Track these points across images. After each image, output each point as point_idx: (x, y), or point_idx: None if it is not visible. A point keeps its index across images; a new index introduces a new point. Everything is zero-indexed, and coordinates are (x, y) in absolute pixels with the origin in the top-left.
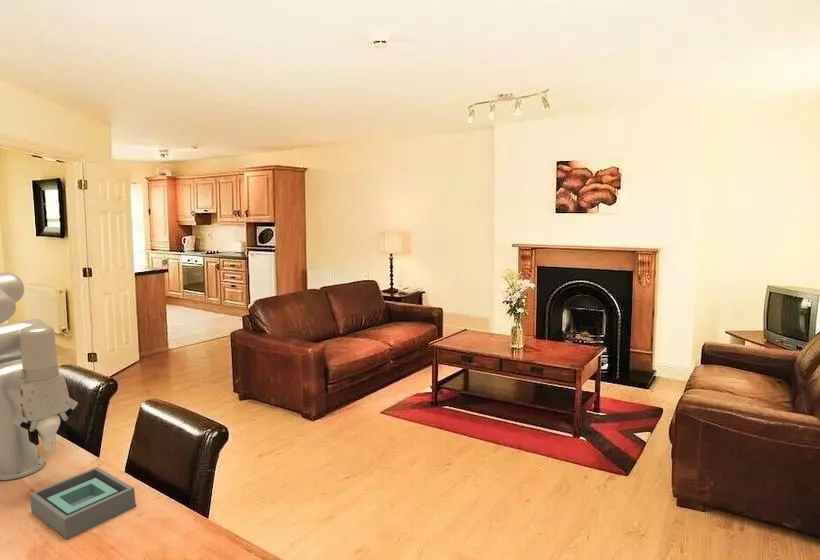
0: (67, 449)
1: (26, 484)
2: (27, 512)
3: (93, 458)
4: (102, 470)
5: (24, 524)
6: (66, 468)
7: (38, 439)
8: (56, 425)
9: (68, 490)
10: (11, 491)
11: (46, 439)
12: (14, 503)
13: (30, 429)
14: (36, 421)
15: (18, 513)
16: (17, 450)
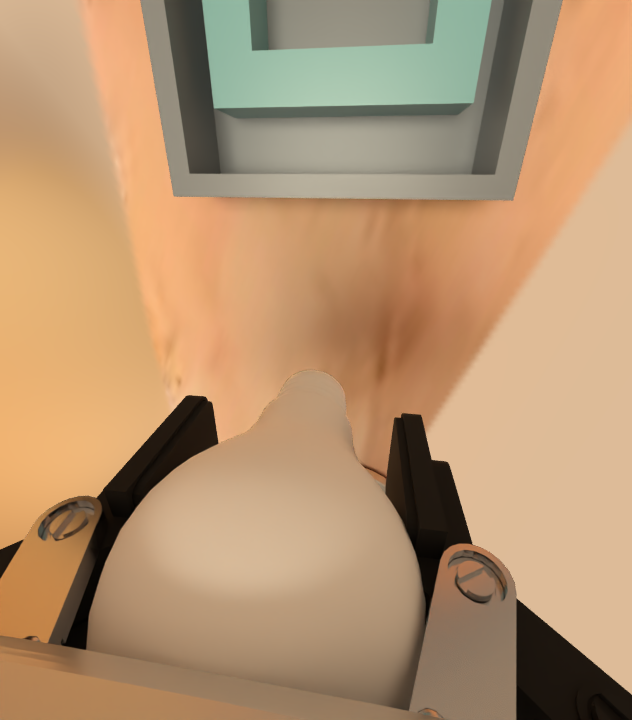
0: None
1: (373, 419)
2: (487, 215)
3: (171, 402)
4: (162, 116)
5: (562, 106)
6: (252, 412)
7: (399, 443)
8: (202, 462)
9: (363, 84)
10: (421, 416)
11: (333, 422)
12: (464, 332)
13: (493, 584)
14: (426, 689)
15: (506, 240)
16: None
